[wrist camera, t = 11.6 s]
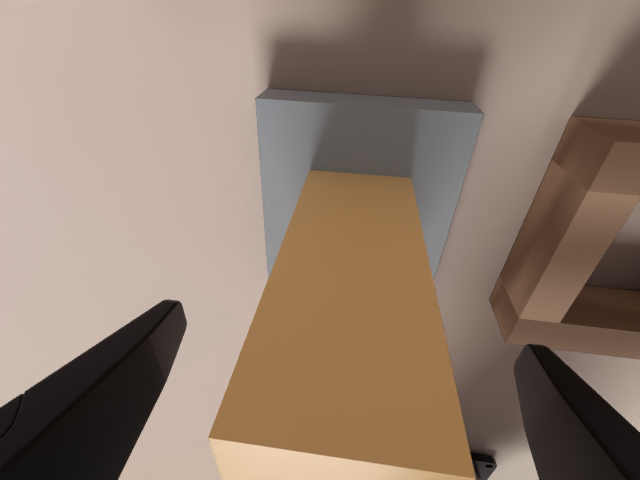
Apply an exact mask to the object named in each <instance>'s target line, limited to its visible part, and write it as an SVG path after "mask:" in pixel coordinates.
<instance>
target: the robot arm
mask: <svg viewBox="0 0 640 480" xmlns="http://www.w3.org/2000/svg"><path fill="white" fill-rule="evenodd" d="M186 326H187V321H186V317H185V314H184V310H183V307H182V304H181V302H180V301H176V300H163V301H162V302H160V303H158V304H157V305H155V306H154V307H152V308H151V309H149V310H148V311H146V312H145V313H143V314H142V315H140V316H139V317H137V318H136V319H134V320H133V321H131V322H130V323H128V324H127V325H125V326H124V327H122V328H121V329H119V330H118V331H116V332H114V333H113V334H111V335H110V336H108V337H107V338H105V339H104V340H102V341H101V342H99V343H98V344H96V345H95V346H93V347H92V348H90V349H89V350H87V351H86V352H84V353H83V354H81V355H80V356H78V357H77V358H75V359H74V360H72V361H70V362H69V363H67V364H66V365H64V366H63V367H61V368H60V369H58V370H57V371H55V372H54V373H52V374H51V375H49V376H48V377H46V378H45V379H43V380H42V381H40V382H39V383H37V384H36V385H34V386H33V387H31V388H30V389H28V390H26V391H25V393H24V394H20V395H19V396H17V397H16V398H14V399H13V400H11V401H10V402H8V403H7V404H5V405H4V406H2V407H0V480H118V479H119V477H120V474H121V472H122V470H123V468H124V466H125V464H126V462H127V460H128V458H129V456H130V454H131V452H132V450H133V448H134V446H135V444H136V442H137V440H138V438H139V436H140V434H141V432H142V430H143V428H144V426H145V424H146V422H147V420H148V418H149V416H150V414H151V412H152V410H153V408H154V406H155V404H156V402H157V400H158V398H159V396H160V394H161V392H162V390H163V387H164V385H165V383H166V381H167V378H168V376H169V373H170V371H171V368H172V365H173V363H174V360H175V357H176V355H177V352H178V349H179V346H180V344H181V341H182V338H183V336H184V333H185V330H186ZM514 375H515V380H516V386H517V391H518V396H519V402H520V407H521V412H522V418H523V423H524V428H525V432H526V436H527V440H528V443H529V447H530V450H531V453H532V457H533V460H534V464H535V467H536V470H537V474H538V477H539V480H640V432H639V431H638V430H637V429H636V428H635V427H633V426H632V425H631V424H630V423H629V422H628V421H627V420H626V419H625V418H624V417H623V416H622V415H620V414H619V413H618V412H617V411H616V410H615V409H614V408H613V407H612V406H611V405H610V404H609V403H608V402H606V401H605V400H604V399H603V398H602V397H601V396H600V395H599V394H598V393H597V392H596V391H595V390H593V389H592V388H591V387H590V386H589V385H588V384H587V383H586V382H585V381H584V380H583V379H582V378H580V377H579V376H578V375H577V374H576V373H575V372H574V371H573V370H572V369H571V368H570V367H569V366H567V365H566V364H565V363H564V362H563V361H562V360H561V359H560V358H559V357H558V356H557V355H556V354H555V353H553V352H552V351H551V350H550V349H549V348H548V347H546V346H544V345H539V344H527V345H525V346H524V348H523V350H522V351H521V353H520V355H519V356H518V358H517V360H516V361H515V364H514ZM471 459H472V463H473V468H474V472H475V477H476V479H475V480H487V479H488V478H489V477H490V475H491V474H492V473H493V471H494V470H495V469H496V467H497V464H496V461H495V459H494V458H493V457H488V456H481V455H474V454H471Z"/></svg>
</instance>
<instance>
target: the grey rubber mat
mask: <svg viewBox="0 0 640 480" xmlns="http://www.w3.org/2000/svg"><path fill="white" fill-rule="evenodd" d="M255 100H256V114H257V128H258V142H259V156H260V170H261V184H262V198H263V212H264V226H265V240H266V254H267V268H268V279H269V276H270V273H271V271H272V268H273V265H274V263H275V260H276V257H277V255H278V252H279V250H280V247H281V244H282V242H283V239H284V236H285V234H286V231H287V228H288V226H289V223H290V220H291V218H292V215H293V213H294V210H295V207H296V205H297V202H298V199H299V197H300V194H301V191H302V189H303V186H304V183H305V181H306V178H307V175H308V173H309V170H315V171H328V172H341V173H354V174H367V175H380V176H392V177H405V178H411V179H412V184H413V189H414V193H415V198H416V203H417V207H418V212H419V217H420V221H421V226H422V231H423V235H424V240H425V245H426V249H427V254H428V259H429V263H430V268H431V272H432V277H433V281H434V278H435V275H436V271H437V268H438V265H439V261H440V258H441V255H442V252H443V248H444V245H445V242H446V238H447V235H448V232H449V228H450V225H451V222H452V218H453V215H454V212H455V209H456V205H457V202H458V199H459V195H460V192H461V189H462V185H463V182H464V179H465V176H466V172H467V169H468V166H469V162H470V159H471V156H472V152H473V149H474V146H475V143H476V139H477V136H478V133H479V129H480V126H481V123H482V119H483V116H484V113H483V112H482V111H481V110H480V109H479V108H478V107H477V106H476V105H475V104H474V103H473V102H467V101H452V100H437V99H421V98H406V97H390V96H375V95H359V94H344V93H329V92H313V91H298V90H282V89H266V90H265V91H264V92H263V93H261V94H260V95H259V96H258V97H256V98H255Z"/></svg>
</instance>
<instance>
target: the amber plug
mask: <svg viewBox="0 0 640 480" xmlns="http://www.w3.org/2000/svg"><path fill="white" fill-rule="evenodd" d="M208 439H209V442H210V445H211V448H212V451H213V454H214V457H215V460H216V463H217V466H218V469H219V472H220V475H221V477H222V480H475V479H476V477H475V472H474V468H473V463H472V459H471V454H470V449H469V445H468V440H467V435H466V431H465V426H464V421H463V417H462V412H461V407H460V403H459V398H458V393H457V389H456V384H455V379H454V375H453V370H452V365H451V361H450V356H449V352H448V347H447V342H446V338H445V333H444V328H443V324H442V319H441V314H440V310H439V305H438V300H437V296H436V291H435V286H434V282H433V277H432V272H431V268H430V263H429V259H428V254H427V249H426V245H425V240H424V235H423V231H422V226H421V221H420V217H419V212H418V207H417V203H416V198H415V193H414V189H413V184H412V179H411V178H405V177H392V176H380V175H367V174H354V173H341V172H328V171H315V170H309V173H308V175H307V178H306V181H305V183H304V186H303V189H302V191H301V194H300V197H299V199H298V202H297V205H296V207H295V210H294V213H293V215H292V218H291V220H290V223H289V226H288V228H287V231H286V234H285V236H284V239H283V242H282V244H281V247H280V250H279V252H278V255H277V257H276V260H275V263H274V265H273V268H272V271H271V273H270V276H269V279H268V281H267V284H266V287H265V289H264V292H263V294H262V297H261V300H260V302H259V305H258V308H257V310H256V313H255V316H254V318H253V321H252V324H251V326H250V329H249V331H248V334H247V337H246V339H245V342H244V345H243V347H242V350H241V353H240V355H239V358H238V361H237V363H236V366H235V369H234V371H233V374H232V376H231V379H230V382H229V384H228V387H227V390H226V392H225V395H224V398H223V400H222V403H221V406H220V408H219V411H218V413H217V416H216V419H215V421H214V424H213V427H212V429H211V432H210V435H209V437H208Z"/></svg>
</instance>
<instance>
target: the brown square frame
mask: <svg viewBox="0 0 640 480" xmlns="http://www.w3.org/2000/svg"><path fill="white" fill-rule="evenodd" d="M639 200H640V121H634V120H619V119H604V118H589V117H574V116H571V118H570V120H569V123H568V125H567V127H566V129H565V132H564V134H563V136H562V138H561V141H560V143H559V145H558V147H557V149H556V152H555V154H554V156H553V158H552V161H551V163H550V165H549V167H548V170H547V172H546V174H545V176H544V178H543V181H542V183H541V185H540V187H539V190H538V192H537V194H536V196H535V199H534V201H533V203H532V205H531V208H530V210H529V212H528V214H527V216H526V219H525V221H524V223H523V225H522V228H521V230H520V232H519V234H518V237H517V239H516V241H515V243H514V245H513V248H512V250H511V252H510V254H509V257H508V259H507V261H506V263H505V266H504V268H503V270H502V272H501V274H500V277H499V279H498V281H497V283H496V286H495V288H494V290H493V292H492V295H491V297H490V299H489V301H490V304H491V307H492V309H493V312H494V314H495V317H496V320H497V322H498V325H499V327H500V330H501V332H502V335H503V338H504V340H505V343H509V344H517V345H527V344H539V345H544V346H546V347H548V348H550V349H558V350H566V351H574V352H583V353H591V354H599V355H607V356H615V357H624V358H632V359H640V291H634V290H624V289H615V288H605V287H596V286H587V285H585V283H586V282H587V280H588V279H589V277H590V275H591V274H592V272H593V271H594V269H595V268H596V266H597V265H598V263H599V262H600V260H601V259H602V257H603V255H604V254H605V252H606V251H607V249H608V248H609V246H610V245H611V243H612V242H613V240H614V239H615V237H616V235H617V234H618V232H619V231H620V229H621V228H622V226H623V225H624V223H625V222H626V220H627V219H628V217H629V216H630V214H631V212H632V211H633V209H634V208H635V206H636V205H637V203H638V202H639Z"/></svg>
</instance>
